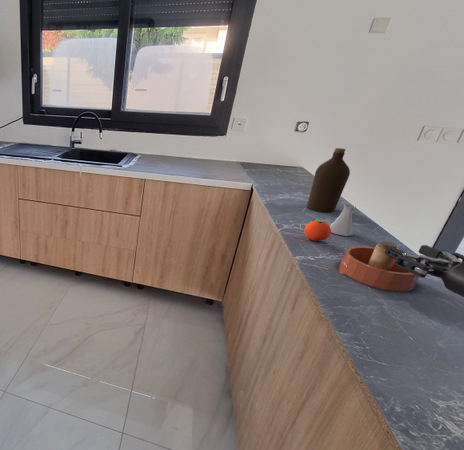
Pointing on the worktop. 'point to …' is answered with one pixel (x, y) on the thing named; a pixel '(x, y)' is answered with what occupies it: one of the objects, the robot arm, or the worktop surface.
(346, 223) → the flask
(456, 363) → the worktop surface
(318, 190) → the olive oil
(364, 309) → the worktop surface
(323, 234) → the clementine
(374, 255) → the pepper mill
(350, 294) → the worktop surface
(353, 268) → the pot
